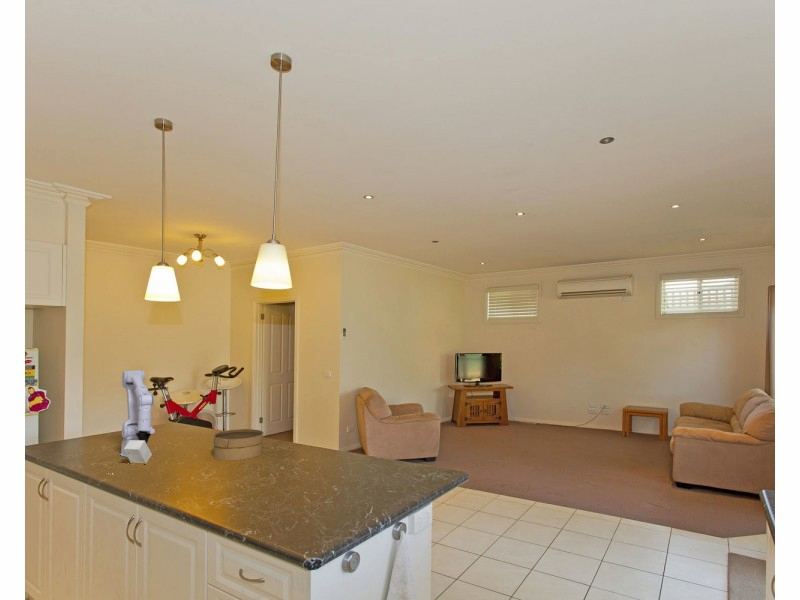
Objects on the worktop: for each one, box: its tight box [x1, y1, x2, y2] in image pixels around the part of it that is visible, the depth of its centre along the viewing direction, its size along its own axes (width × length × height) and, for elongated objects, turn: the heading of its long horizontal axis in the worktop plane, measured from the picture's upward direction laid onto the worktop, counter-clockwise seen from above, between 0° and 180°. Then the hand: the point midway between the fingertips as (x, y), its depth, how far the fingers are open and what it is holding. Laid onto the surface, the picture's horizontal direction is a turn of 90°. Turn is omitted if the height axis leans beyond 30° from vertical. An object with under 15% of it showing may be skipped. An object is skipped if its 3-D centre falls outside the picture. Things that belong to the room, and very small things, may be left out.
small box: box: [124, 440, 153, 464], centre depth 229 cm, size 8×6×10 cm
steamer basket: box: [213, 428, 264, 461], centre depth 248 cm, size 25×25×11 cm
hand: (143, 446), depth 233 cm, fingers closed
